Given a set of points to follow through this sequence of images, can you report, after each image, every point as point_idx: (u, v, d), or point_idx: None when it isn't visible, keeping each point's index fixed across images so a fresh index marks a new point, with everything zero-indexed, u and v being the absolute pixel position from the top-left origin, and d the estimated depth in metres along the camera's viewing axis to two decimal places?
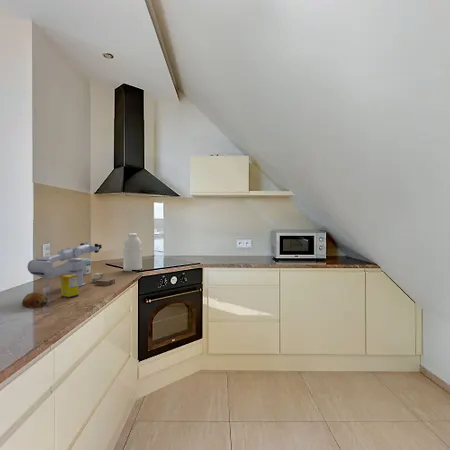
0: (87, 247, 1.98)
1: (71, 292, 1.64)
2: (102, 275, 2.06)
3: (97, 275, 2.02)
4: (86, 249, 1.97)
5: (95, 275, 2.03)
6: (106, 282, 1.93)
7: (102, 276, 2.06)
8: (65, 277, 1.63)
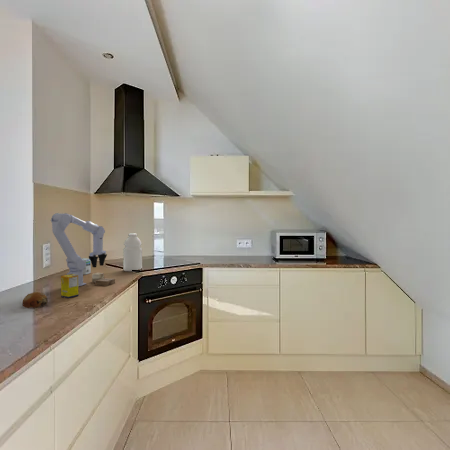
0: (97, 247, 2.02)
1: (71, 292, 1.64)
2: (102, 275, 2.06)
3: (97, 275, 2.02)
4: (95, 245, 2.02)
5: (95, 275, 2.03)
6: (106, 282, 1.93)
7: (102, 276, 2.06)
8: (65, 277, 1.63)
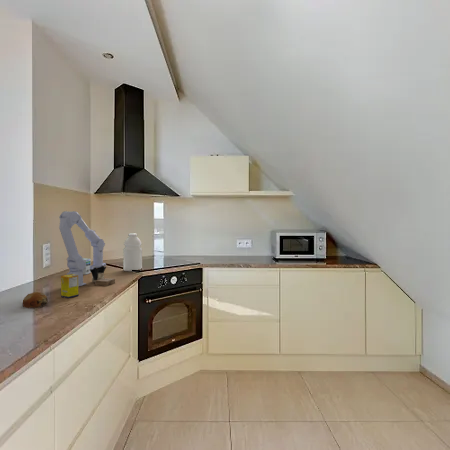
0: (97, 260, 2.02)
1: (71, 292, 1.64)
2: (102, 275, 2.06)
3: None
4: (95, 258, 2.02)
5: None
6: (106, 282, 1.93)
7: (102, 276, 2.06)
8: (65, 277, 1.63)
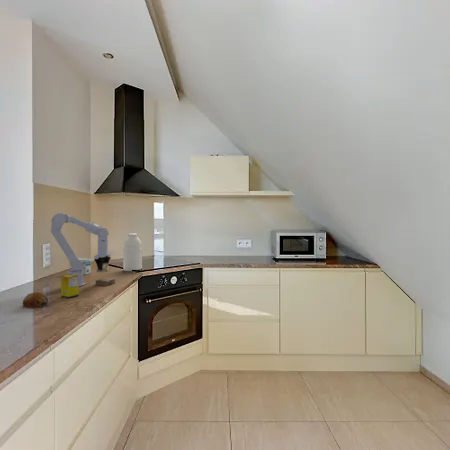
0: (102, 250, 1.97)
1: (71, 292, 1.64)
2: (107, 265, 2.01)
3: None
4: (100, 247, 1.97)
5: None
6: (106, 282, 1.93)
7: (107, 266, 2.01)
8: (65, 277, 1.63)
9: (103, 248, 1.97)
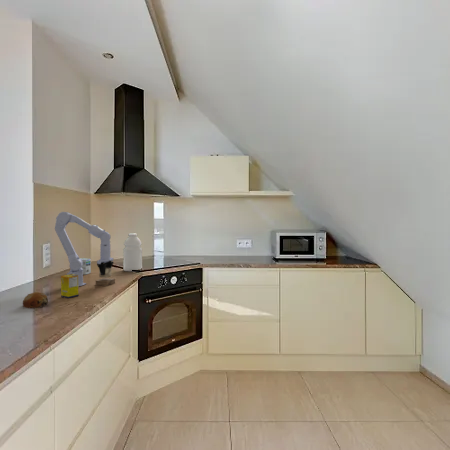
0: (105, 255, 1.94)
1: (71, 292, 1.64)
2: (109, 270, 1.98)
3: None
4: (103, 252, 1.94)
5: None
6: (106, 282, 1.93)
7: (109, 271, 1.98)
8: (65, 277, 1.63)
9: (106, 253, 1.94)
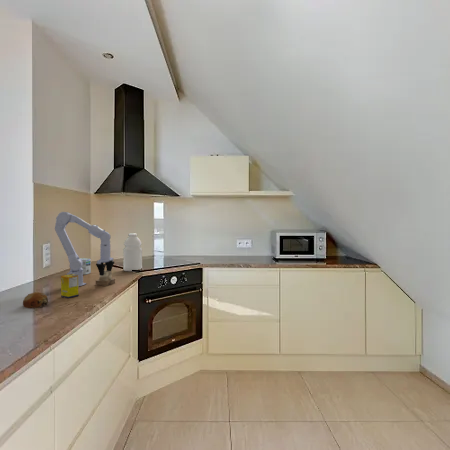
0: (105, 255, 1.94)
1: (71, 292, 1.64)
2: (110, 273, 1.97)
3: (105, 273, 1.94)
4: (103, 252, 1.94)
5: None
6: (106, 282, 1.93)
7: (110, 274, 1.97)
8: (65, 277, 1.63)
9: (106, 253, 1.94)
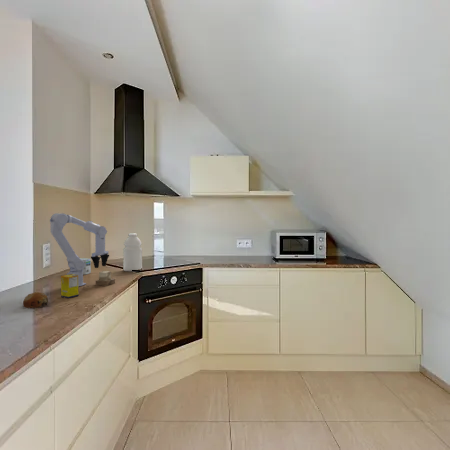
0: (99, 248, 2.00)
1: (71, 292, 1.64)
2: (109, 273, 1.97)
3: (104, 273, 1.94)
4: (98, 245, 2.00)
5: (102, 273, 1.94)
6: (106, 282, 1.93)
7: (109, 274, 1.97)
8: (65, 277, 1.63)
9: (100, 246, 2.00)
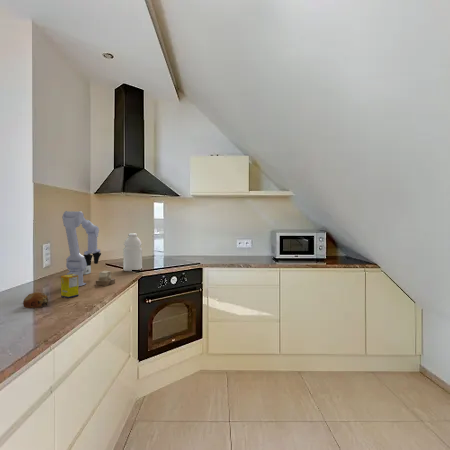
0: (92, 246, 2.09)
1: (71, 292, 1.64)
2: (109, 273, 1.97)
3: (104, 273, 1.94)
4: (90, 244, 2.09)
5: (102, 273, 1.95)
6: (106, 282, 1.93)
7: (109, 274, 1.98)
8: (65, 277, 1.63)
9: (93, 244, 2.10)
